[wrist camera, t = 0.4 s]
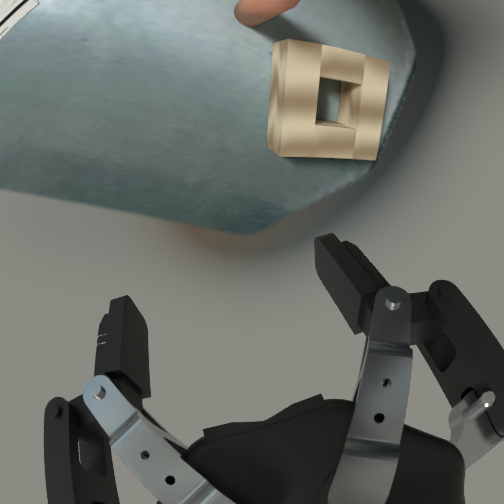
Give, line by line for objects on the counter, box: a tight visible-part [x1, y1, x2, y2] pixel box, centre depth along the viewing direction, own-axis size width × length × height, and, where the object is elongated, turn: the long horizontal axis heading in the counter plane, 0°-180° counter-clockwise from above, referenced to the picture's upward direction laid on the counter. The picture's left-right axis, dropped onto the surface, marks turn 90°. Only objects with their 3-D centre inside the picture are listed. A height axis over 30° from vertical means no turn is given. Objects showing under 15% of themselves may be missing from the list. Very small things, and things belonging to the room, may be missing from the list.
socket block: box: [267, 39, 390, 160], centre depth 31 cm, size 14×14×5 cm
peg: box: [234, 0, 300, 26], centre depth 21 cm, size 4×4×10 cm
